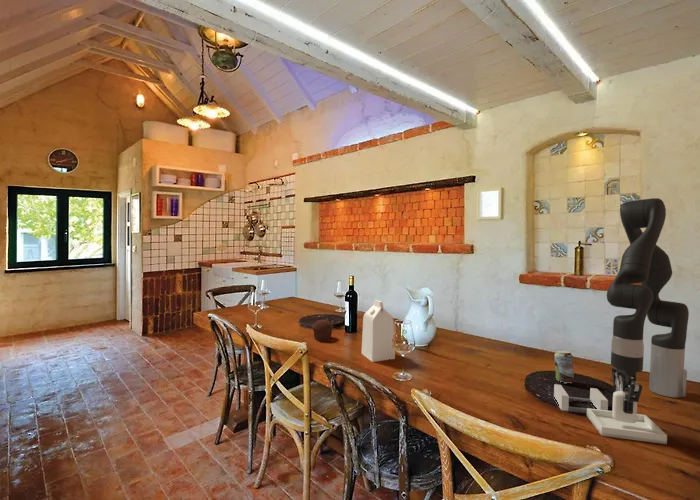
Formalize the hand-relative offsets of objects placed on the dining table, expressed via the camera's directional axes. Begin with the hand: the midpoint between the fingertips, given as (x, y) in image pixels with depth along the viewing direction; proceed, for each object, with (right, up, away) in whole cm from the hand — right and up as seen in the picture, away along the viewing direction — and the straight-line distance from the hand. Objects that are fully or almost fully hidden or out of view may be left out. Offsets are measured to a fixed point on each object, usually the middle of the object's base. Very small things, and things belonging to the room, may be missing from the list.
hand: (624, 409), depth 107 cm
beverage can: (+2, -4, +34) cm, 34 cm away
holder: (-5, -5, +14) cm, 15 cm away
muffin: (-96, -1, +90) cm, 131 cm away
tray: (0, -6, 0) cm, 6 cm away
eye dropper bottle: (0, -3, 0) cm, 3 cm away
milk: (-68, -3, +62) cm, 92 cm away
